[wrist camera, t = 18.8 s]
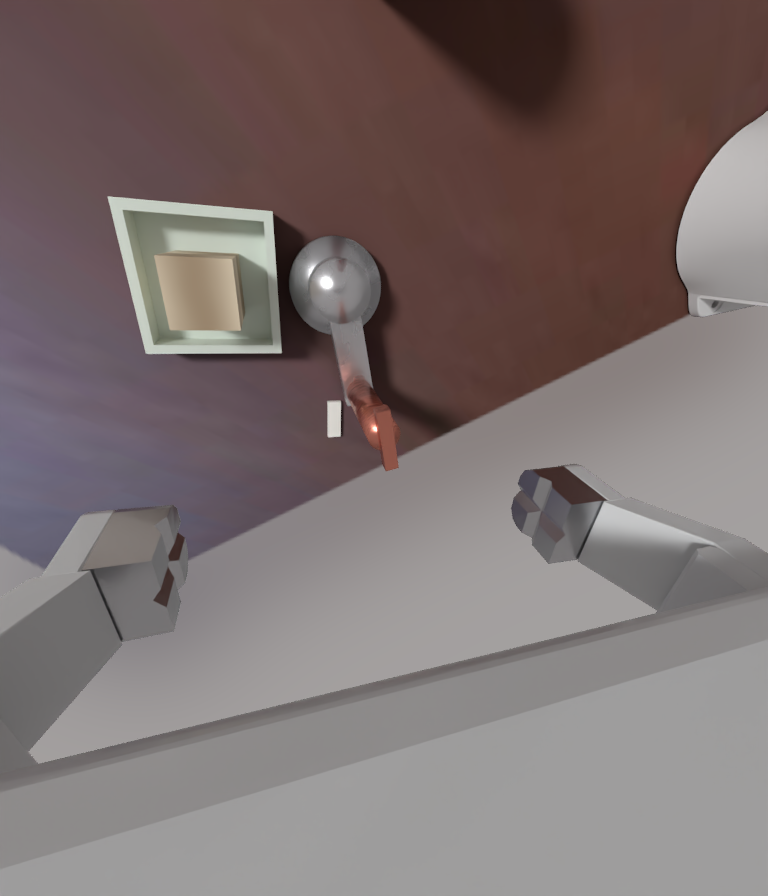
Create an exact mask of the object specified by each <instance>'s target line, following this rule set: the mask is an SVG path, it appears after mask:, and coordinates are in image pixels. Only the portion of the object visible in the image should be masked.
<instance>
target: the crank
mask: <svg viewBox="0 0 768 896" xmlns="http://www.w3.org/2000/svg"><path fill="white" fill-rule="evenodd" d="M308 293H309V297H310V300H311V302H312V304H313V305H314V307H315V309H316V310H317V311H318V313H319V314H320V315H321V316H322V317H324V318H325V319H327V320H328V323H329V328H330V333H331V337H332V342H333V347H334V351H335V356H336V361H337V365H338V370H339V375H340V380H341V384H342V389H343V394H344V398H345V401H346V404H347V406H352V408H353V410H354V412H355V414H356V416H357V418H358V420H359V422H360V424H361V427H362V429H363V431H364V433H365V435H366V437H367V439H368V441H369V443H370V445H371V446H372V447H373V448H375V449H377V450H380V453H381V459H382V464H383V466H384V468H385V470H386V471H388V470H392V469H396V468H398V460H397V453H396V446H395V445H396V444H397V442H398V441H399V438H400V429H399V427H398V425H397V424H396V422H395V421H394V419H393V418H392V417H391V411H390V409H389V407H388V406H387V404H385V405H383V403H382V402H381V400H380V399H379V397H378V396H377V394H376V393H375V391H374V390H373V386H372V380H371V374H370V368H369V362H368V356H367V349H366V343H365V337H364V331H363V325H362V319H361V315H362V314H363V313H364V311H365V310H366V308H367V306H368V304H369V301H370V296H371V287H370V282H369V279H368V277H367V275H366V273H365V271H364V270H363V269H362V268H361V267H360V266H359V265H358V264H357V263H355V262H354V261H352V260H349V259H346V258H343V257H336V256H335V257H329V258H326V259H324V260H322V261H320V262H319V263H318V264H317V265H316V266H315V267H314V269H313V270H312V272H311V274H310V277H309V281H308Z"/></svg>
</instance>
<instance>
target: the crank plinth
mask: <svg viewBox="0 0 768 896" xmlns="http://www.w3.org/2000/svg"><path fill="white" fill-rule="evenodd" d="M335 256H336V257H343V258H346V259H349V260H352V261H354V262H355V263H357V264H358V265H359V266H360V267H361V268H362V269H363V270H364V271H365V273H366V275H367V277H368V279H369V282H370V287H371V296H370V301H369V304H368V306H367V308H366V310H365V311H364V313H363V314H362V315H361V319H362V325H364V324H366V323H367V322H368V321H369V319H370V318H371V317H372V315H373V314H374V312H375V310H376V308H377V306H378V303H379V299H380V293H381V281H380V275H379V271H378V268H377V266H376V264H375V262H374V260H373V258H372V257H371V255H370V254H369V253H368V252H367V251H366V249H364V248H363V247H362V246H361V245H360V244H358V243H357V242H355V241H353V240H351V239H348V238H345V237H340V236H324V237H320V238H317V239H314V240H312V241H311V242H309V243H308V244H306V245H305V246H304V247H303V248H302V249H301V250H300V251H299V252H298V254H297V255H296V257H295V259H294V261H293V263H292V266H291V269H290V274H289V290H290V295H291V298H292V301H293V304H294V306H295V308H296V310H297V312H298V313H299V315H300V316H301V317H302V319H303V320H304V321H305V322H306V323H307V324H308V325H310V326H311V327H313V328H314V329H316V330H318V331H320V332H323V333H326V334H330V335H331V333H330V328H329V323H328V320H327V319H325V318H324V317H322V316H321V315H320V314H319V313H318V311H317V310H316V309H315V307H314V305H313V304H312V302H311V300H310V297H309V293H308V281H309V277H310V274H311V272H312V270H313V269H314V267H315V266H316V265H317V264H318V263H319V262H320V261H322V260H324V259H326V258H329V257H335Z"/></svg>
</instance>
